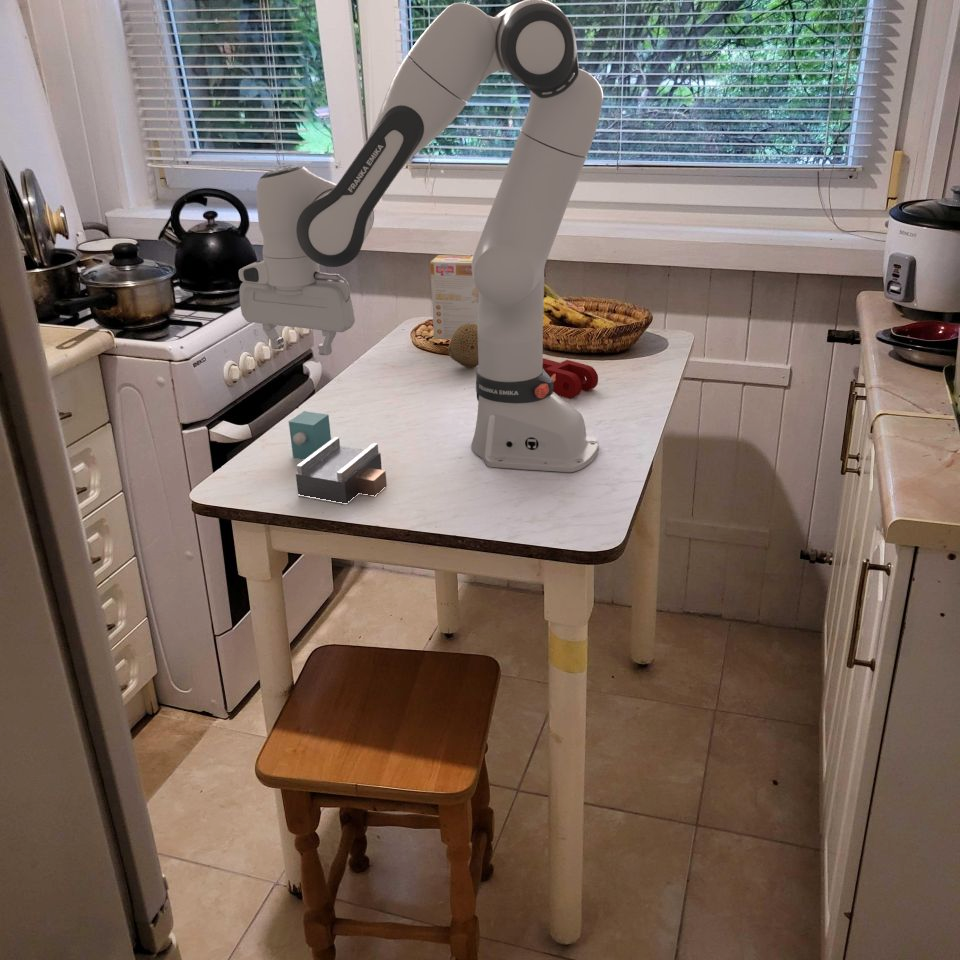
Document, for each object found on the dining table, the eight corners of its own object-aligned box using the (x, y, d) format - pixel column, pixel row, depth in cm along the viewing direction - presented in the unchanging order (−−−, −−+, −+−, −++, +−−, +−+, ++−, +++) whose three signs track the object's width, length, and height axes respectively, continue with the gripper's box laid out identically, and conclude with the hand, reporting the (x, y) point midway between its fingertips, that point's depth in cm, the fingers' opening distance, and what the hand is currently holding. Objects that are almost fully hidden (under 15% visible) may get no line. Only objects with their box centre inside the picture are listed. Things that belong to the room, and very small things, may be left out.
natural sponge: (496, 373, 208) (495, 328, 203) (455, 378, 206) (453, 332, 202) (486, 360, 216) (484, 316, 211) (446, 364, 214) (444, 320, 209)
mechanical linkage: (597, 391, 197) (598, 368, 195) (575, 401, 193) (576, 377, 191) (537, 374, 207) (537, 351, 205) (515, 383, 203) (515, 360, 201)
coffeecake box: (502, 338, 229) (501, 255, 220) (496, 348, 223) (494, 263, 214) (441, 335, 232) (438, 253, 224) (433, 344, 226) (429, 261, 218)
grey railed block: (397, 476, 164) (395, 446, 161) (363, 508, 154) (360, 476, 152) (335, 466, 168) (332, 436, 166) (298, 496, 158) (294, 465, 156)
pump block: (332, 450, 174) (328, 414, 171) (313, 465, 169) (308, 428, 166) (308, 447, 176) (304, 411, 173) (288, 461, 171) (283, 424, 168)
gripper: (357, 270, 157) (364, 351, 163) (252, 261, 165) (262, 339, 171) (337, 279, 152) (345, 363, 158) (229, 270, 160) (241, 350, 166)
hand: (301, 351), depth 165 cm, fingers open, 8 cm apart
